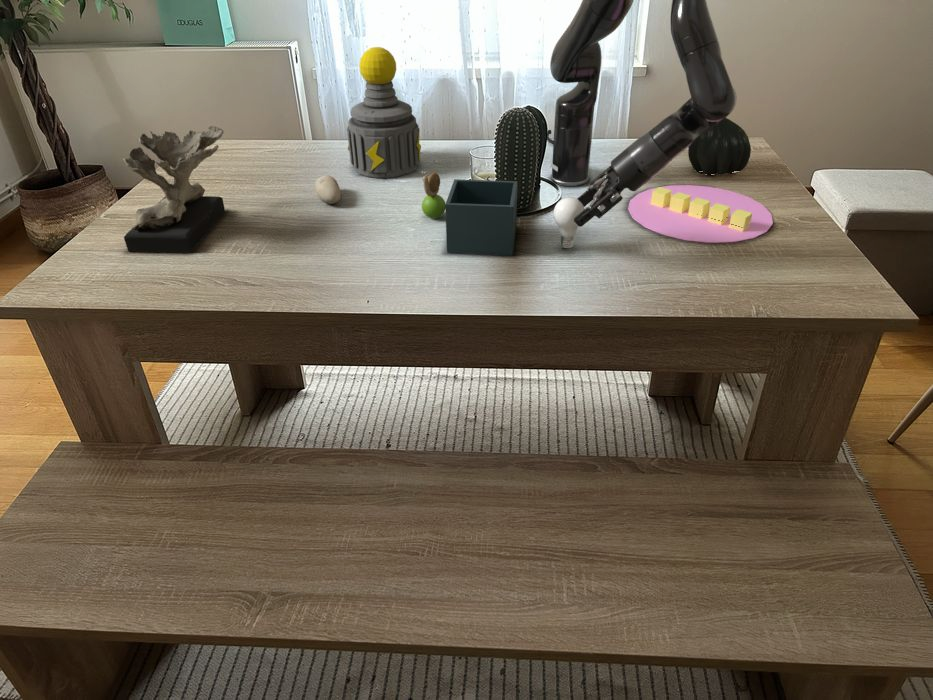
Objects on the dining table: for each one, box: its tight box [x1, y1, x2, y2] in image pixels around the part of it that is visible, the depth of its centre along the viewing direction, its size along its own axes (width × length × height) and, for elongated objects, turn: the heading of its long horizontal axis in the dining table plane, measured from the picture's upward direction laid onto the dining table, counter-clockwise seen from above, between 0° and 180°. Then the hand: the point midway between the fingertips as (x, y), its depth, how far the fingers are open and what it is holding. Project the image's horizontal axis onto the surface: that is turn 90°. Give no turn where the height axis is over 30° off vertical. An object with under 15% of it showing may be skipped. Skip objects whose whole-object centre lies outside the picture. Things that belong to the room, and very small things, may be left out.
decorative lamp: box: [346, 46, 422, 179], centre depth 179 cm, size 19×19×30 cm
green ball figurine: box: [421, 170, 446, 219], centre depth 157 cm, size 5×6×12 cm
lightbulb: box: [552, 196, 585, 250], centre depth 144 cm, size 6×6×11 cm
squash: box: [687, 117, 752, 178], centre depth 178 cm, size 14×15×15 cm
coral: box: [122, 125, 226, 254], centre depth 151 cm, size 25×20×22 cm
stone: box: [314, 174, 342, 205], centre depth 169 cm, size 6×6×12 cm
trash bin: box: [445, 178, 519, 257], centre depth 147 cm, size 14×14×11 cm
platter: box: [627, 184, 774, 244], centre depth 160 cm, size 32×32×3 cm
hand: (576, 214), depth 142 cm, fingers open, 8 cm apart
